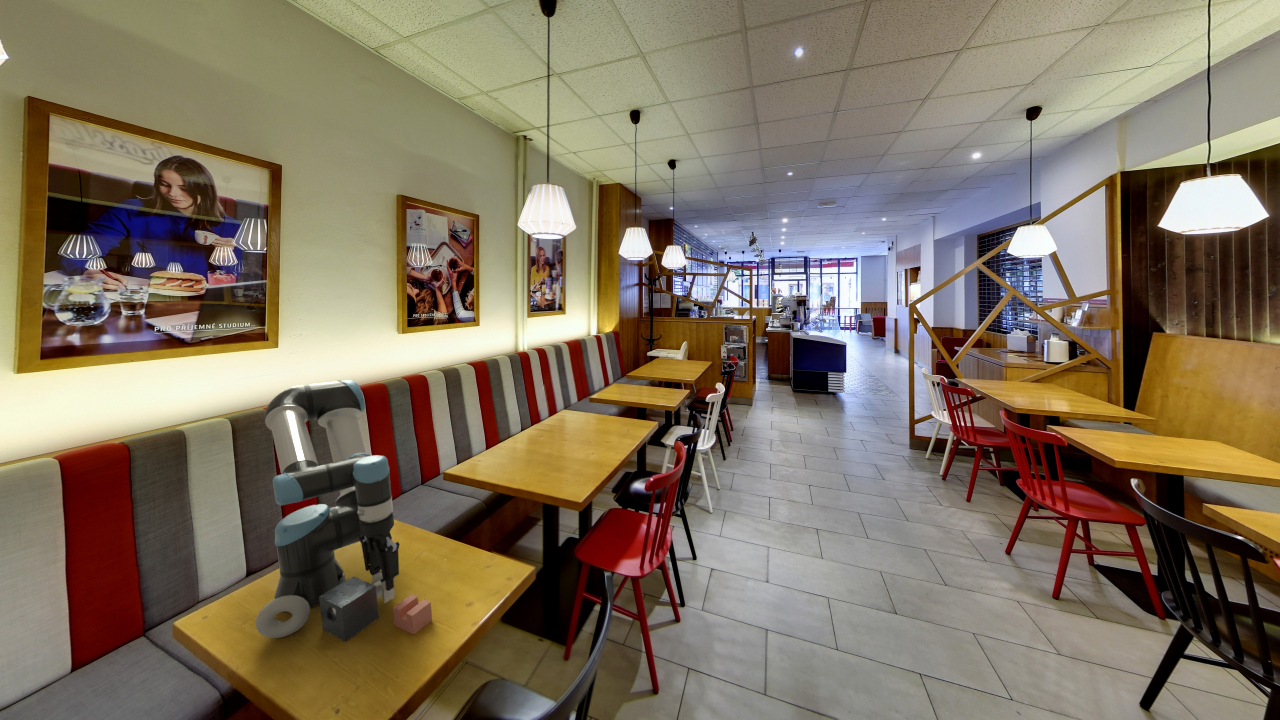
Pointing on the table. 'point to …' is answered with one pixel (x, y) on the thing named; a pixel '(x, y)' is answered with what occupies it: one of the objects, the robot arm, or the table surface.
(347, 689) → the table surface
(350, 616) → the block with square hole
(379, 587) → the axle
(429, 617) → the v block
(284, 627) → the donut
